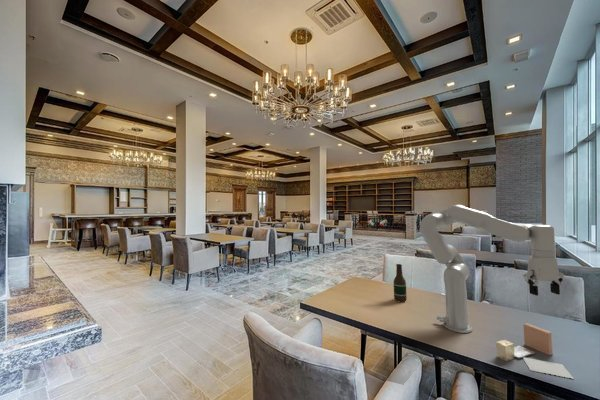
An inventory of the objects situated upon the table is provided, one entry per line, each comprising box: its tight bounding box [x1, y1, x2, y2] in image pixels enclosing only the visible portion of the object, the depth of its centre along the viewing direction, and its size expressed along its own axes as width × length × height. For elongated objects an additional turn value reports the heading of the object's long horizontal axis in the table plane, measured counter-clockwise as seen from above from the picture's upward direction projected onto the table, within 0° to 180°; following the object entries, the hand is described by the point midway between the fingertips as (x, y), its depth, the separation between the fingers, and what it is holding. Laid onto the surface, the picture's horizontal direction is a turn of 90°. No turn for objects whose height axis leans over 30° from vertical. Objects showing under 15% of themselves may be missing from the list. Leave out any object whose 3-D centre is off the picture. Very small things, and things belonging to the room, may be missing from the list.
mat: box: [521, 356, 575, 380], centre depth 97 cm, size 12×9×1 cm
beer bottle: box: [393, 263, 408, 303], centre depth 170 cm, size 8×8×24 cm
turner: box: [495, 339, 536, 362], centre depth 106 cm, size 16×6×6 cm, turn 108°
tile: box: [523, 323, 554, 356], centre depth 110 cm, size 2×9×9 cm, turn 18°
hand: (544, 294), depth 109 cm, fingers open, 9 cm apart
